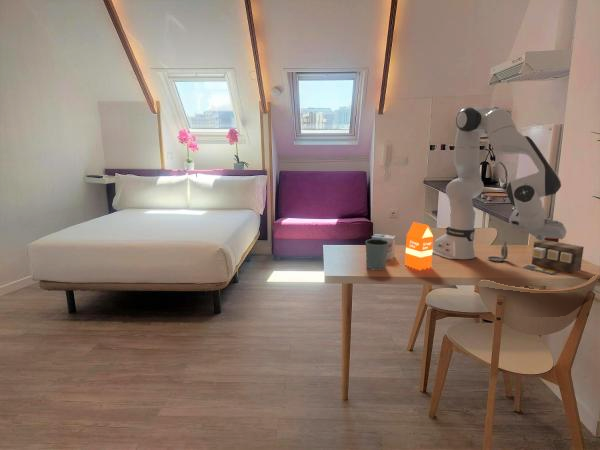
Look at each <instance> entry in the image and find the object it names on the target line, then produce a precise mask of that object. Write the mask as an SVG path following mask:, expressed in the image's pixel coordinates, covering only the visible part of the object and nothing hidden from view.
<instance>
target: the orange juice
mask: <svg viewBox="0 0 600 450" xmlns="http://www.w3.org/2000/svg"><path fill="white" fill-rule="evenodd" d="M433 245H434V235H433V233H432V230H431V228H430V225H427V224H424V223H420V222H415V221H413V222H412V224H411V226H410V228H409V230H408V232H407V233H406V244H405V259H404V261H405V263H404V265H407V266H406V267H408V266H409V267H408V268H411V267H412V268H411V269H414V268H415V269H414V270H417V269H418V271H422V270H421V269H424V270H427V269H426V268H428V269H431V268H432V261H433V260H432V259H433V253H432V250H433V249H432V248H433ZM430 267H431V268H430Z"/></svg>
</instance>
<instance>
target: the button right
mask: <svg viewBox="0 0 600 450" xmlns="http://www.w3.org/2000/svg"><path fill="white" fill-rule="evenodd" d="M573 255H574V253H571V252H566V251H563V252H561V256H560V261H562V262H567V263H571V262H573Z"/></svg>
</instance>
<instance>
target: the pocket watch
mask: <svg viewBox="0 0 600 450" xmlns="http://www.w3.org/2000/svg"><path fill="white" fill-rule="evenodd" d="M507 243H508V241H507V240H505V241H504V243H503V244H504V245H502V246H501V252H500V254H501V257H500V256H495V255H494V256H488V257H487V260H488V261H491V262H496V263H497V262H498V263H500V262H504V260H506V259H507V258H508V247H507V246H508V245H506V244H507Z"/></svg>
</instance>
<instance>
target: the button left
mask: <svg viewBox="0 0 600 450" xmlns="http://www.w3.org/2000/svg"><path fill="white" fill-rule="evenodd" d="M547 249H548V248H545V247H540V246H538V247H535V248H534V247H533V248H532V257H536V258H540V259H542V258H545V257H546V256H547ZM532 257H531V258H532Z"/></svg>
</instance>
